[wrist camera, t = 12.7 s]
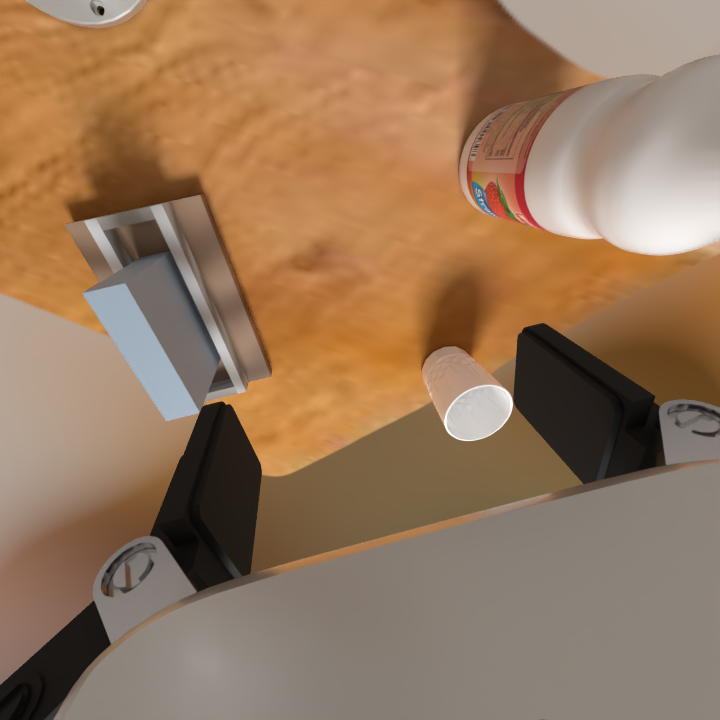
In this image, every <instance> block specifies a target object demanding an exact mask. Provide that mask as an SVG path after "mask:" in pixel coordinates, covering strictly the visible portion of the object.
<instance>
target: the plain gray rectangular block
mask: <svg viewBox="0 0 720 720" xmlns="http://www.w3.org/2000/svg"><path fill="white" fill-rule="evenodd" d="M82 294H83V296H84V297H85V299H86V300H87V302H88V303H89V305H90V306H91V308H92V309H93V311H94V312H95V314H96V315H97V317H98V318H99V320H100V321H101V323H102V324H103V326H104V328H105V329H106V331H107V332H108V334H109V335H110V337H111V338H112V340H113V341H114V343H115V344H116V346H117V347H118V349H119V350H120V352H121V353H122V355H123V356H124V358H125V359H126V361H127V362H128V364H129V365H130V367H131V369H132V370H133V371H134V373H135V375H136V376H137V377H138V379H139V381H140V382H141V384H142V385H143V387H144V388H145V390H146V391H147V393H148V394H149V396H150V397H151V399H152V400H153V402H154V403H155V405H156V406H157V408H158V410H159V411H160V413H161V414H162V416H163V417H164V419H165V420H166V421H169V420H173V419H177V418H180V417H185V416H188V415H193V414H197V413H200V411H201V408H202V406H203V404H204V401H205V398H206V396H207V393H208V391H209V388H210V385H211V383H212V380H213V378H214V375H215V373H216V370H217V367H218V365H219V362H220V360H221V357H220V355H219V353H218V351H217V349H216V346H215V344H214V342H213V340H212V338H211V336H210V334H209V332H208V329H207V327H206V325H205V323H204V321H203V319H202V317H201V315H200V312H199V310H198V308H197V306H196V304H195V302H194V300H193V298H192V295H191V293H190V291H189V289H188V287H187V285H186V283H185V281H184V278H183V276H182V274H181V272H180V270H179V268H178V266H177V264H176V261H175V259H174V257H173V255H172V253H171V251H168V252H163V253H159V254H155V255H151V256H146V257H142V258H139V259H137V260H135V261H134V262H132V263H131V264H129V265H127V266H126V267H124V268H122V269H121V270H119V271H118V272H116V273H114V274H113V275H111V276H109V277H108V278H106V279H105V280H103V281H101V282H100V283H98V284H96V285H95V286H93V287H92V288H90V289H88V290H87V291H85V292H83V293H82Z"/></svg>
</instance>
